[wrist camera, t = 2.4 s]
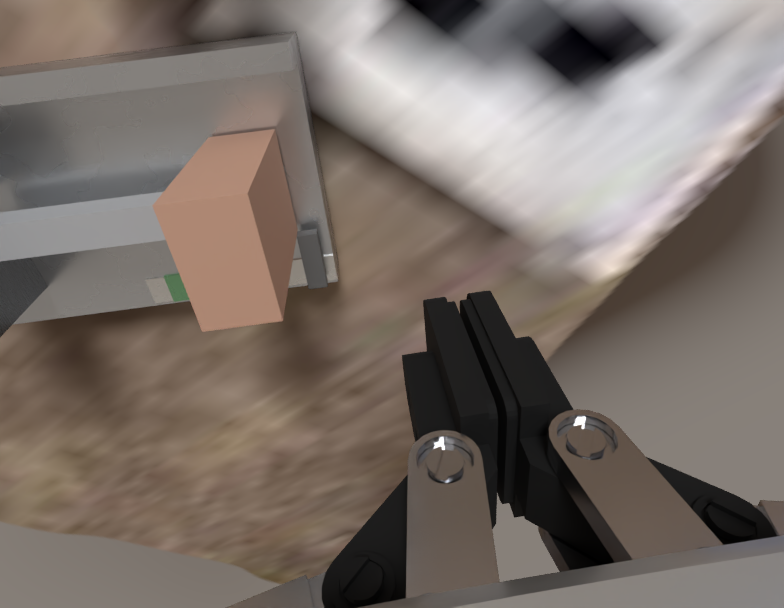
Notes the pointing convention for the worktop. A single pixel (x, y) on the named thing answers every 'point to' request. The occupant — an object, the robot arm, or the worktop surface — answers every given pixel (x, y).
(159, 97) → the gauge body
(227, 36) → the worktop surface
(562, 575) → the robot arm
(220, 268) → the plunger
